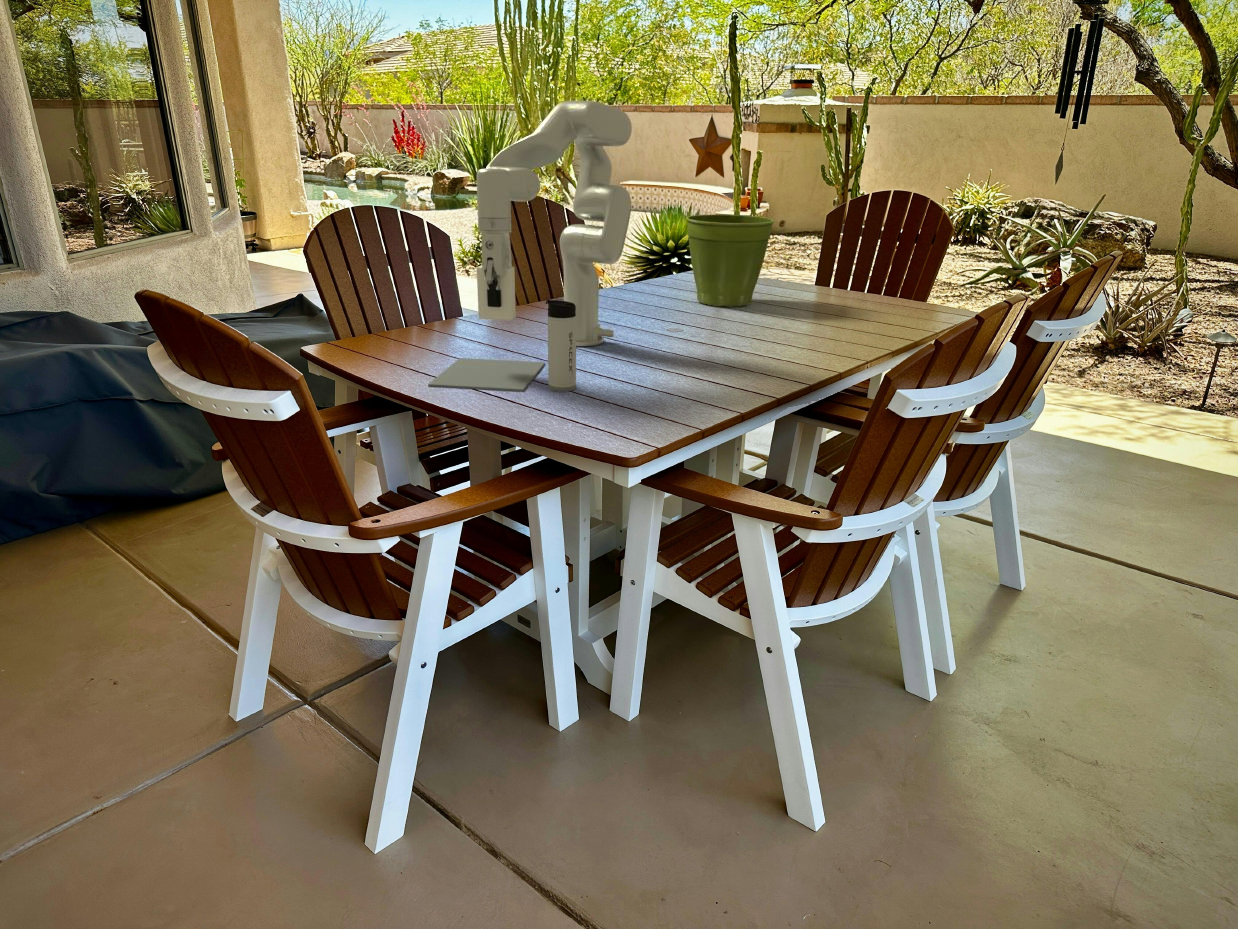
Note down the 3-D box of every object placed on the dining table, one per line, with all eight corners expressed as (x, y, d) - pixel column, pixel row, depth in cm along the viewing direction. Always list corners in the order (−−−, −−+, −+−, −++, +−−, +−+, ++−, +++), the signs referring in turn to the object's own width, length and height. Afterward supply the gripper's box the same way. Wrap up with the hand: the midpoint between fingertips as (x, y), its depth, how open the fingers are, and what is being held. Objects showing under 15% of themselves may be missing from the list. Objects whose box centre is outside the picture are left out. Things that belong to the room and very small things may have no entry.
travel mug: (547, 384, 187) (545, 297, 180) (575, 384, 188) (575, 297, 180) (547, 392, 181) (545, 303, 174) (576, 392, 182) (576, 303, 175)
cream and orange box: (515, 316, 196) (514, 266, 192) (511, 320, 192) (510, 268, 188) (483, 315, 197) (481, 265, 192) (478, 318, 193) (476, 267, 189)
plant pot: (684, 293, 301) (688, 213, 291) (765, 297, 298) (772, 215, 287) (679, 308, 274) (683, 220, 263) (768, 313, 270) (775, 223, 260)
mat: (544, 364, 204) (544, 362, 204) (523, 391, 182) (523, 389, 182) (459, 359, 206) (459, 357, 206) (428, 386, 184) (428, 384, 184)
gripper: (501, 229, 179) (503, 312, 185) (519, 222, 194) (520, 299, 201) (468, 228, 179) (471, 310, 186) (488, 221, 195) (491, 298, 202)
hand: (497, 303), depth 193 cm, fingers closed on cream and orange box, 4 cm apart
